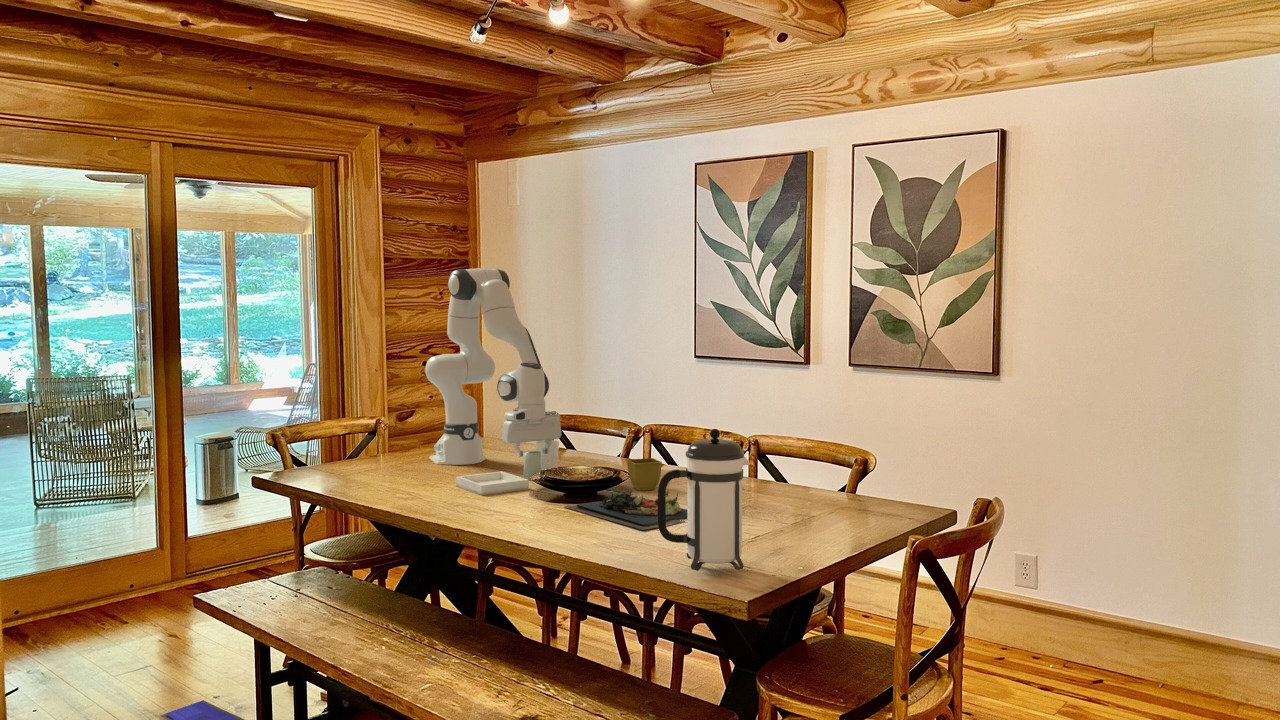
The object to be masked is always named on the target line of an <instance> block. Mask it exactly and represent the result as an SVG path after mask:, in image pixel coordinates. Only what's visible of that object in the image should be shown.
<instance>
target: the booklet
mask: <svg viewBox="0 0 1280 720" xmlns="http://www.w3.org/2000/svg"><path fill="white" fill-rule="evenodd" d="M159 717H161V718H162V719H165V720H245V718H242V717H240V716H238V715H235V714H233V713H232V712H229V711H227V710H225V709H224V708H221V707H219V706H216V705H215V704H212V703H209V702H208V701H207V700H200V701H199V700H198V701H197V702H195V703H191V704H189V705H185V706H183V707H180V708H177V709H175V710H171V711H168V712H166V713H163V714H159Z"/></svg>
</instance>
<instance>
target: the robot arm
mask: <svg viewBox="0 0 1280 720" xmlns="http://www.w3.org/2000/svg"><path fill="white" fill-rule="evenodd" d="M510 282H511V281H510V278H509V276H508V273H507V272H506V271H505V270H502V269H499V268H487V267H485V268H484V267H477V268H468V269H467V268H466V269H465V268H459V269H456V270H453V271H452V272H451V273H450V275H449V277H448V279H447V291H448V292H449V294H450V297H449V298H450V299H449V305H448V311H447V328H446V335H447V337H448V339H449V340H450V341H451V342H453V343H455V344H456V345H458V346H459V350H460V352H459V353H443V354H438V355H435V356H431V357H429V359H428V360H427V362H426V364H425V366H424V367H425V369H424V372H425V375H426V378H427V380H428V381H429V382H430V383H431V384H432V385H434V386H435V387H436V388H437V389H438V390H439V392H440V394H441V396H442V399H443V402H444V409H445V410H444V411H445V423H444V424H443V425H444V426H443V434H442V436H441V437H440V438H439V440H437V442H436V444H433V450H434V452H435V454H433V455H430V456H429V459H430V460H431V461H432V462H433V463H435V464H436V465H438V466H439V465H449V466H450V465H452V466H453V465H454V466H457V465H458V466H459V465H461V466H462V465H464V466H465V465H474V464H479V463H481V462H483V461H486V460H487V456H484V450H483V438H482V437H481V435H480V434H479V429H480V426H479V422H478V403H477V401H476V399H475V397H473V396H471V395H469V394H467V393H465V391H464V387H463V385H469V384H471V385H472V384H481V383H483V382H487V381H490V380H492V378H493V377H494V376H495V375H494V374H495V371H496V365H495V364H496V363H495V361H494V359H493V357H492V356H490V355H489V354H488V353H487V351H485V349H484V348H483V346H482V344H481V339H480V338H481V337H480V320H481V319H480V318H481V314H482V318H483V324H484V325H485V328H486V330H487V332H488V333H489V334H490V335H491V336H492V337H494V338H496V339H499V340H502V341H504V342H506V343H509V344H510V345H511V346H513V347H514V348H515V349H516V350H517V352H518V354H519V357H520V360H521V363H519V364H518V366H517V367H516V368H515V369H514V370H512V371H509V372H507V373H503V374H501V375H500V376H499V378H498V381H497V386H496V388H497V394H498V396H499V397H500V399H502V400H503V401H505V402H517V407H516V408H514V409H511V410H508V411H507V412H504V415H503V417H504V419H505V421H504V422H503V424H502V430H501V431H502V432H501V434H502V436H501V437H502V441H503V443H505V444H509V445H511V444H512V446H513V448H514V450H515V452H516V457H517V458H518V457H519V458H521V457H523V452H524V451H523V450H521V449H520V447H521V443H532V442H536V441H542V440H545V443H546V445H545V447H544V448H542V453H543V454H548V453H549V447H550V445H551V443H552V440H560V438H561V437H562V427H561V423H560V422H561V415H560V413H559V412H557V411H555V410H552V411H546V400H545V397H546V395H547V394H548V393H549V389H550V381H549V378H548V376H547V374H546V372H545V371H544V369H543V367H542V364H541V362H540V359H539V356H538V354H537V350H536V347H535V345H534V342H533V338H532V336H531V334H530V332H529V330H528V329H527V327H525V326H524V325H523V323H522V322H521V320H520V319H519V315H518V314H517V310H516V306H515V303H514V299H513V296H512V295H513V294H512V293H511V290H510V284H511V283H510Z"/></svg>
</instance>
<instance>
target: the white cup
mask: <svg viewBox="0 0 1280 720" xmlns="http://www.w3.org/2000/svg"><path fill="white" fill-rule="evenodd" d="M545 445H546V443H545V440H542V441H535V451H540V452H541V470H545V469H550V468H557V469H558V463H559V451H560V449H559V445H560V441H559V440H556V439H552V443H551V445H550V447H549V453H548V454H543V453H542V448H544V447H545Z"/></svg>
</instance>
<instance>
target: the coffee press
mask: <svg viewBox="0 0 1280 720" xmlns="http://www.w3.org/2000/svg"><path fill="white" fill-rule="evenodd" d="M709 436H710V437H711V438H707V439H699V440H696V441H694V442H692V443H691V444H690V445H689V446H688V448H687V450H686V451H685V457H686V459H687V468H686V470H685V469H673V470H670V471H668V472H666V473H665V474H664V475H663V476H662V477H661V478H660V480H659V483H658V485H657V486H658V487H657V498H658V527H657V528H658V530H659V532H660V535H661V536H662V537H663V539H665V540H666V541H668V542H671V543H678V544H679V543H681V544H687V553H686V558H687V559H689V560H692V562H691V564H690V568H691V570H693V571H696V572H699V571H700V569H701V567H702V566H703V565H704V564H727V563H729V564H731V565H732V566H733V568H734V570H735V571H740V570H743V568H744V567H745V566H744V565H745V564H744V563H743V561H742V559H741V556H742V552H743V551H742V550H743V549H742V548H743V542H742V541H743V479H744V469H743V467H744V466H751V462H750V461H749V460H748V459H747V458H746V457H745V452H744V451H743V450H742V447H741V446H740V444H738V442H735V441H733V440H729V439H721V438H719V437H720V436H721V433H720V430H719V429H717V428H713V429H711V430H710V431H709ZM680 478H687V484H686V485H687V493H686V494H687V495H686V496H687V504H686V505H687V508H686V509H687V519H686V520H687V522H686V523H687V528H686V529H687V532H686V533H684V534H675V533H671V532H670V531H669V530H668V528H667V526H666V496H667V495H666V492H667V488H668V484H669V483H670V482H671V481H673V480H675V479H680Z"/></svg>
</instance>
